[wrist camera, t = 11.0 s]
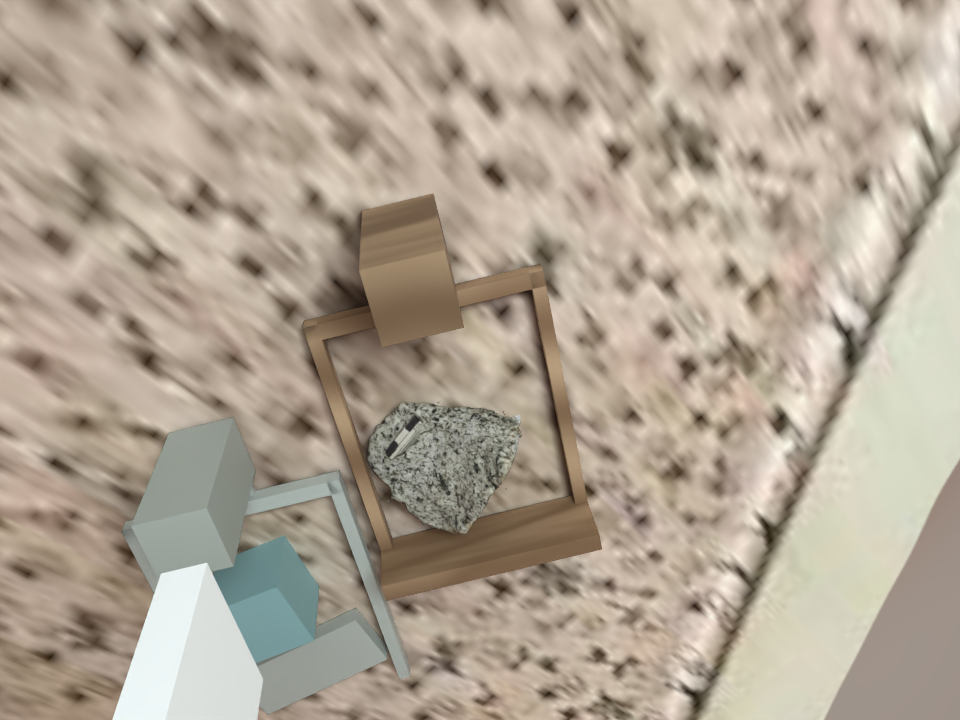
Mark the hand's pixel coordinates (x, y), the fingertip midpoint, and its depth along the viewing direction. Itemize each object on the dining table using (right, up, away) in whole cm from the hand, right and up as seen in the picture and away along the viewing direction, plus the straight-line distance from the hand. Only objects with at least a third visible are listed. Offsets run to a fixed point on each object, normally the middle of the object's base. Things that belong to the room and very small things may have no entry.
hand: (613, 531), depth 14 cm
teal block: (-17, -12, +43) cm, 48 cm away
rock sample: (-5, -3, +41) cm, 41 cm away
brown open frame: (-4, +1, +38) cm, 38 cm away
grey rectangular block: (-14, -19, +47) cm, 53 cm away
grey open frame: (-17, -11, +43) cm, 47 cm away
